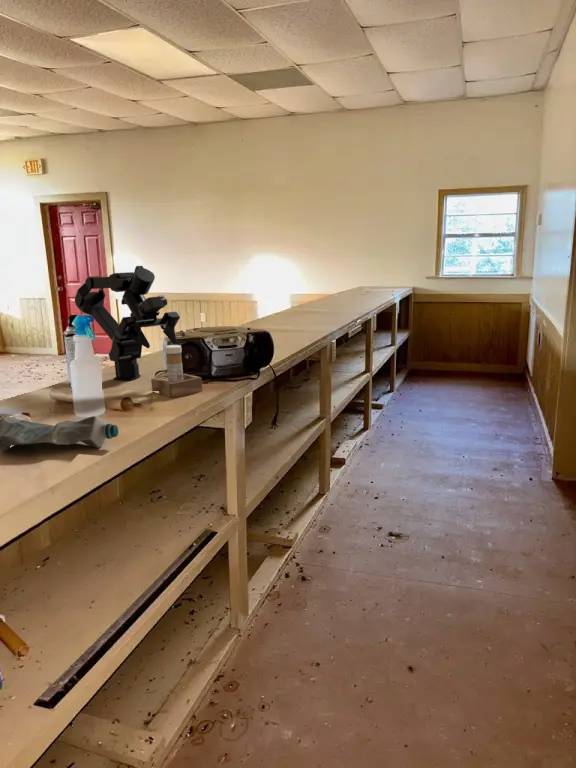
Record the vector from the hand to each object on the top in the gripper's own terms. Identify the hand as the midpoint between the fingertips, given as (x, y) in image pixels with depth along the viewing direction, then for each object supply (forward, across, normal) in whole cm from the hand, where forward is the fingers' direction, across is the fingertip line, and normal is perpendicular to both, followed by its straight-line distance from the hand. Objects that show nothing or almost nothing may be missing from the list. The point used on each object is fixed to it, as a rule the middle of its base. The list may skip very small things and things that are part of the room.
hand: (162, 345), depth 162 cm
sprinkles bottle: (+13, 0, +6) cm, 14 cm away
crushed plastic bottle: (+28, -44, -8) cm, 53 cm away
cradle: (+13, 0, +5) cm, 14 cm away
